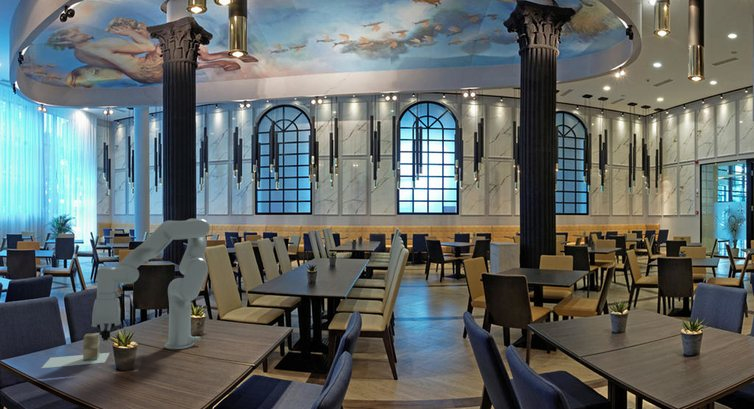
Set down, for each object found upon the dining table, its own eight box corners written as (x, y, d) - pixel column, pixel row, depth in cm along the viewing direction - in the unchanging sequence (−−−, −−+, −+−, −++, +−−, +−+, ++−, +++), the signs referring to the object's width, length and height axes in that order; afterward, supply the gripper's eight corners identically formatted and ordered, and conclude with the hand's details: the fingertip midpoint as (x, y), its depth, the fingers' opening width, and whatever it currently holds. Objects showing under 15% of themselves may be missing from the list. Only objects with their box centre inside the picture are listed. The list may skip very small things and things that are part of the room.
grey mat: (110, 354, 209) (110, 352, 209) (104, 364, 196) (104, 362, 196) (50, 359, 201) (50, 357, 201) (41, 370, 188) (41, 368, 188)
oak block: (99, 356, 204) (99, 332, 204) (97, 359, 199) (97, 335, 199) (85, 357, 202) (86, 333, 202) (83, 361, 197) (83, 336, 197)
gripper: (127, 294, 209) (126, 336, 209) (88, 295, 203) (87, 339, 203) (125, 297, 202) (124, 340, 202) (84, 298, 196) (83, 343, 196)
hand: (105, 339), depth 202 cm, fingers closed
